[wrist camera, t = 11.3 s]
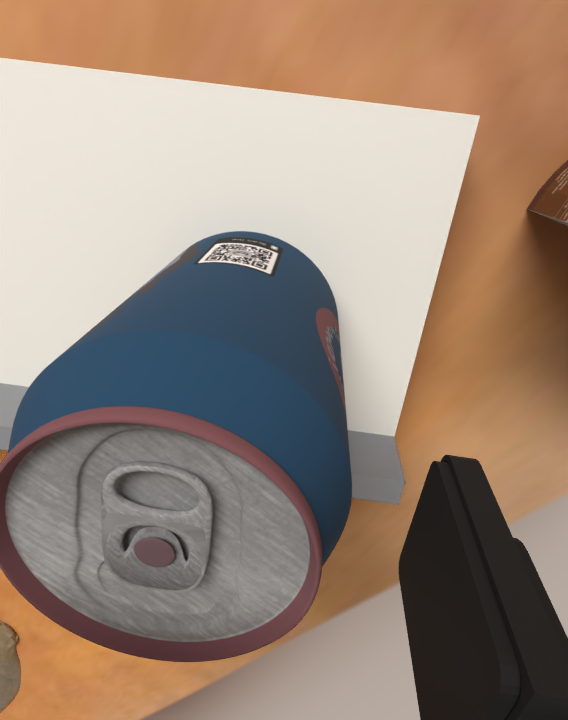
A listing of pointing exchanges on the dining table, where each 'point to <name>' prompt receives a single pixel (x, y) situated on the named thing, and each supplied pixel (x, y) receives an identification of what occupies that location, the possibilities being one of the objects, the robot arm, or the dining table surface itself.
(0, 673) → the jawbone
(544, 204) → the food container
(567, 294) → the dining table surface
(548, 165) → the dining table surface
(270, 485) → the soda can
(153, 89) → the display shelf
